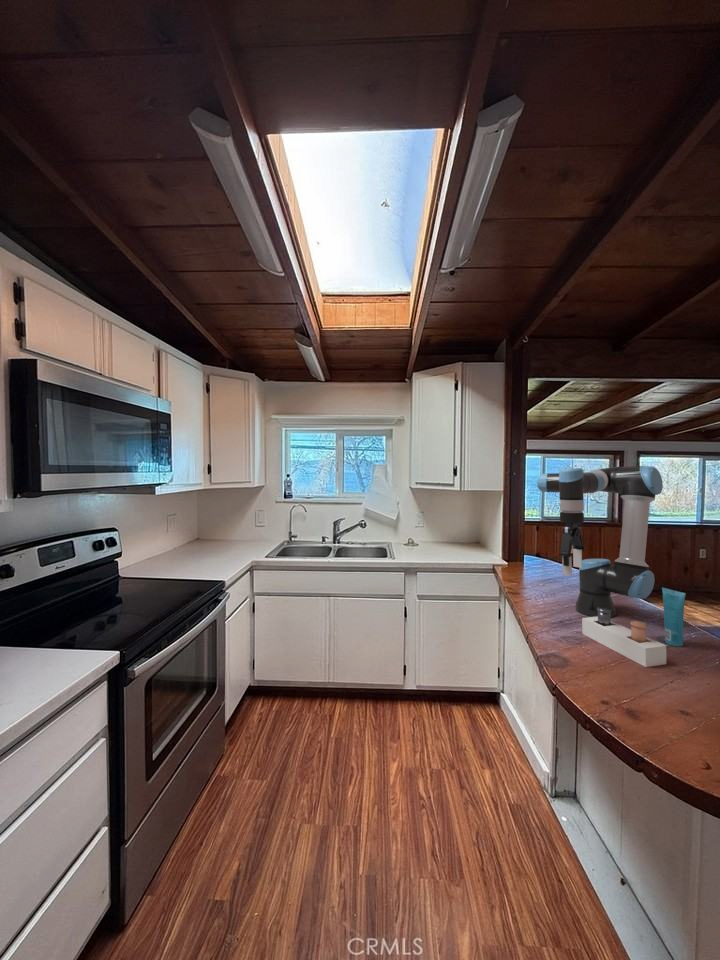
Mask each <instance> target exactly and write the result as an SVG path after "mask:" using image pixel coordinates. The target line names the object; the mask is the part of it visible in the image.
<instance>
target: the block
mask: <svg viewBox="0 0 720 960" xmlns="http://www.w3.org/2000/svg"><path fill="white" fill-rule="evenodd" d="M581 618H582V620H581V622H582V625H581V626H582V631H581V632H582V634H583V635H584V636H586V637H588V638H590V639H591V640H594V641H595V642H597V643H600V644H601V645H603V646H605V647H607V648H608V649H611V650H613V651H614V652H616V653H617V654H620V655H622V656H624V657H626V658H627V659H630V660H632V661H633V662H635V663H637V664H638V665H641V666H643V667H645V668H649V667H656V666H662V665H667V645H666V644H663V643H661V642H659V641H657V640H655V639H653V638H650V637H648V636H646V642H644V643H638V642H636V641H634V640H632V639H631V628H628V627H626V626H623V625H621V624H619V623H616V622H614V621H612V620H611V626H602V625H600V624H598V616H597V617H593V616H589V617H581Z"/></svg>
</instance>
